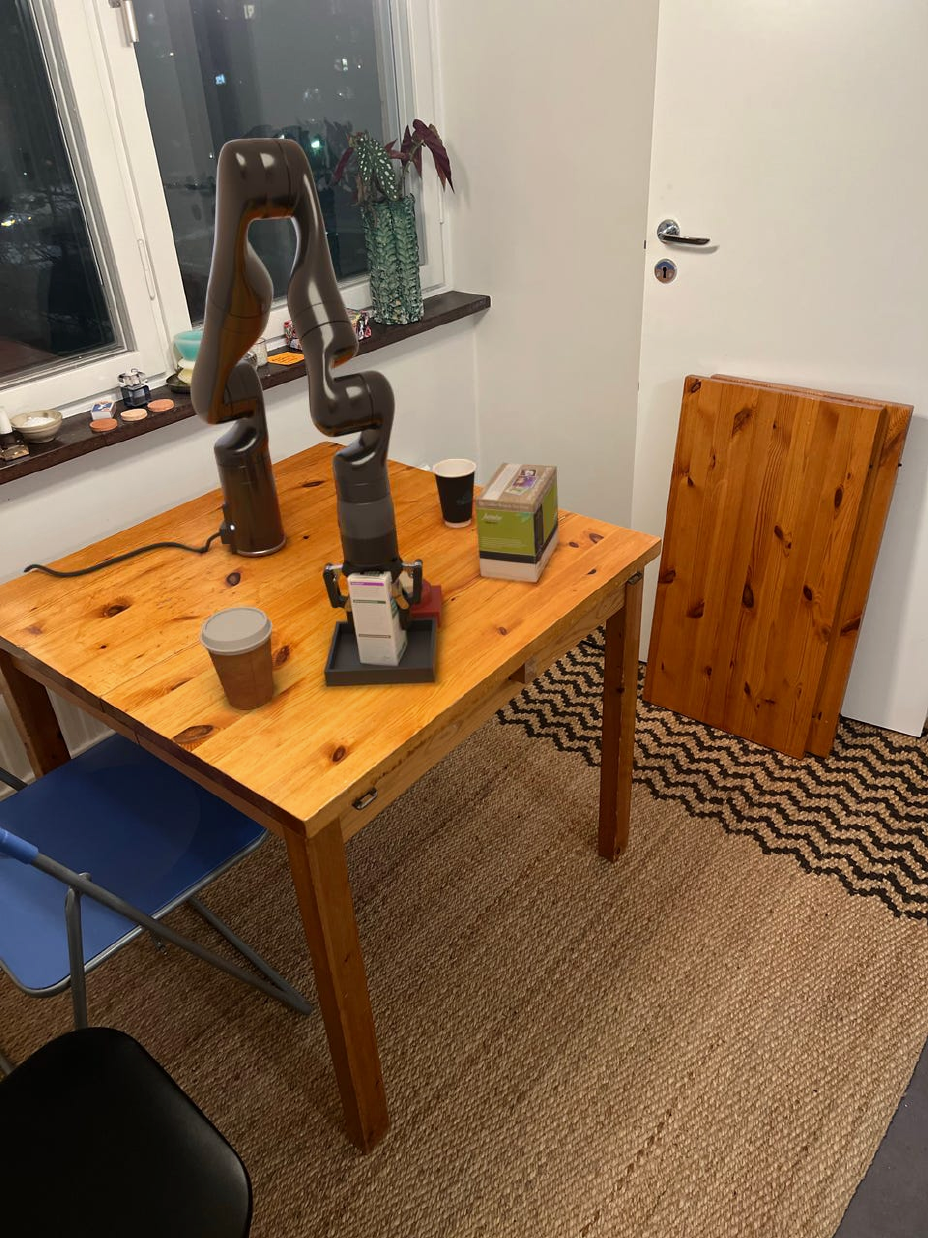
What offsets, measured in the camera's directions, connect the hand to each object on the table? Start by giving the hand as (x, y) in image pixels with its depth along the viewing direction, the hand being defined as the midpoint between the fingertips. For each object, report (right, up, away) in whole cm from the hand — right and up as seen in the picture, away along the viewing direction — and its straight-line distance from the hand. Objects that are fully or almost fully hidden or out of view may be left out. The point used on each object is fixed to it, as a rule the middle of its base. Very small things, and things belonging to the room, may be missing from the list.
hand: (380, 628), depth 131 cm
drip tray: (0, -4, +3) cm, 5 cm away
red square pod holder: (+3, +2, +12) cm, 13 cm away
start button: (+3, +6, +10) cm, 12 cm away
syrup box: (0, -4, +2) cm, 5 cm away
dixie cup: (+11, +19, +40) cm, 45 cm away
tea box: (+22, +11, +26) cm, 35 cm away
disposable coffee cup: (-18, -10, -3) cm, 20 cm away
